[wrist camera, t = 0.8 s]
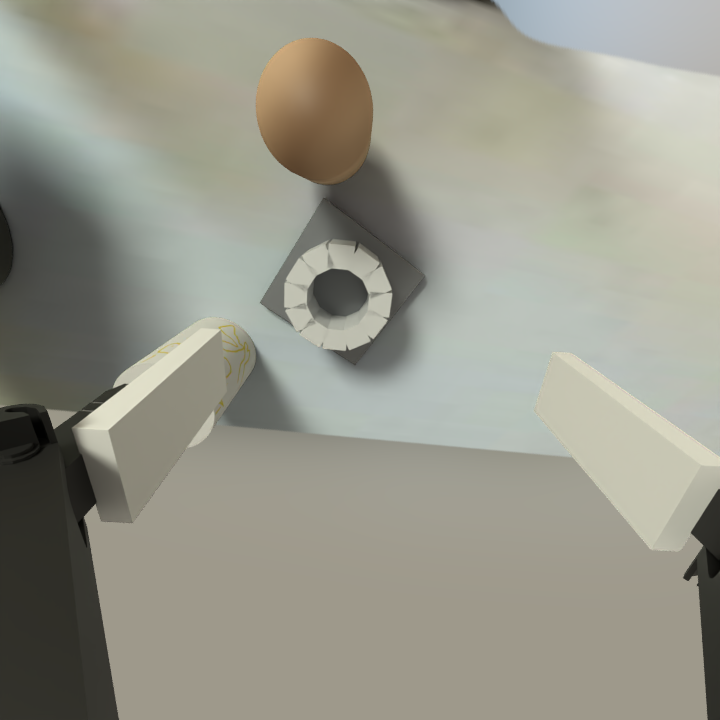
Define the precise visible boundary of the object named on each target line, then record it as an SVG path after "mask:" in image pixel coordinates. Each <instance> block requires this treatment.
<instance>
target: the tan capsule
mask: <svg viewBox="0 0 720 720" xmlns="http://www.w3.org/2000/svg"><path fill="white" fill-rule="evenodd" d="M256 114H257V121H258V125H259V129H260V132H261V135H262V137H263V140H264V142H265V144H266V146H267V147H268V149H269V151H270V152H271V153H272V155H273V156H274V157H275V158H276V159H277V161H278V162H279V163H281V164H282V165H283V166H284V167H285V168H287V169H288V170H290V171H291V172H293V173H295V174H297V175H299V176H301V177H303V178H306V179H308V180H310V181H312V182H314V183H317V184H322V185H333V184H338V183H341V182H343V181H346V180H347V179H349V178H350V177H352V176H353V175H354V174H355V173H356V172H357V171H358V170H359V169H360V167H361V166H362V164H363V163H364V161H365V159H366V156H367V154H368V151H369V147H370V140H371V131H372V121H373V103H372V96H371V91H370V88H369V85H368V82H367V80H366V77H365V75H364V73H363V71H362V70H361V68H360V66H359V65H358V63H357V62H356V61H355V59H354V58H353V57H352V56H351V55H350V54H349V53H348V52H347V51H345V50H344V49H343V48H341V47H340V46H338V45H336V44H334V43H332V42H330V41H327V40H324V39H319V38H305V39H300V40H296V41H293V42H291V43H289V44H287V45H285V46H284V47H283V48H281V49H280V50H279V51H278V52H277V53H276V54H275V55H274V56H273V57H272V58H271V59H270V61H269V62H268V64H267V65H266V67H265V69H264V71H263V73H262V75H261V78H260V81H259V85H258V89H257V95H256Z"/></svg>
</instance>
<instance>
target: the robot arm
mask: <svg viewBox="0 0 720 720" xmlns="http://www.w3.org/2000/svg"><path fill="white" fill-rule="evenodd" d="M11 263H12V242H11V236H10V232H9V229H8V226H7V223H6V220H5V218H4V216H3V213H2V211H1V209H0V285H1V284H2V283H3V282H4V281H5V279H6V277H7V275H8V273H9V271H10V267H11ZM226 392H227V387H226V376H225V366H224V355H223V344H222V334H221V329H207V328H201V329H199V330H198V331H197V332H195V333H194V334H193V335H192V336H190V337H189V338H188V339H186V340H185V341H184V342H183V343H181V344H180V345H179V346H177V347H176V348H175V349H173V350H172V351H171V352H170V353H168V354H167V355H166V356H164V357H163V358H162V359H161V360H159V361H158V362H157V363H155V364H154V365H153V366H151V367H150V368H149V369H148V370H146V371H145V372H144V373H142V374H141V375H140V376H139V377H137V378H136V379H135V380H133V381H132V382H131V383H129V384H122V385H120V386H118V387H115V388H113V389H111V390H108V391H106V392H105V393H103V394H102V395H101V396H99V397H98V398H96V399H95V400H94V401H93V403H90V404H88V405H87V406H86V407H84V408H83V409H82V411H79V412H77V413H76V414H75V415H73V416H72V417H71V418H69V419H68V420H67V421H65V422H64V423H62V424H61V425H60V426H58V427H57V428H55V429H53V427H52V423H51V420H50V417H49V415H48V412H47V410H46V409H45V407H44V406H40V405H37V404H19V405H12V406H6V407H2V408H0V720H119V718H118V712H117V706H116V701H115V694H114V688H113V682H112V676H111V669H110V663H109V658H108V651H107V645H106V639H105V633H104V627H103V621H102V615H101V609H100V603H99V598H98V591H97V585H96V579H95V573H94V567H93V561H92V554H91V548H90V542H89V536H88V530H87V526H86V523H85V520H84V516H85V515H86V514H87V512H88V511H89V510H90V509H91V508H92V507H93V506H94V505H95V504H96V506H97V510H98V513H99V516H100V519H101V521H104V522H123V523H133V522H134V521H135V519H136V518H137V516H138V515H139V513H140V512H141V511H142V510H143V508H144V507H145V505H146V504H147V502H148V501H149V500H150V498H151V497H152V496H153V494H154V493H155V491H156V490H157V489H158V487H159V486H160V484H161V483H162V481H163V480H164V479H165V477H166V476H167V474H168V473H169V472H170V470H171V469H172V468H173V466H174V465H175V463H176V462H177V461H178V459H179V458H180V456H181V455H182V454H183V452H184V451H185V449H186V448H187V447H188V445H189V444H190V442H191V441H192V440H193V438H194V437H195V435H196V434H197V433H198V431H199V430H200V429H201V427H202V426H203V424H204V423H205V422H206V420H207V419H208V417H209V416H210V415H211V413H212V412H213V410H214V409H215V408H216V406H217V405H218V403H219V402H220V401H221V399H222V398H223V396H224V395H225V394H226ZM534 412H535V413H536V414H537V415H538V416H539V418H540V419H541V420H542V421H543V422H544V423H545V425H546V426H547V427H548V428H549V429H550V431H551V432H552V433H553V434H554V435H555V437H556V438H557V439H558V440H559V441H560V442H561V444H562V445H563V446H564V447H565V448H566V450H567V451H568V452H569V453H570V454H571V456H572V457H573V458H574V459H575V460H576V461H577V463H578V464H579V465H580V466H581V467H582V469H583V470H584V471H585V472H586V473H587V474H588V476H589V477H590V478H591V479H592V480H593V482H594V483H595V484H596V485H597V486H598V488H599V489H600V490H601V491H602V492H603V493H604V495H605V496H606V497H607V498H608V499H609V500H610V502H611V503H612V504H613V505H614V506H615V508H616V509H617V510H618V511H619V512H620V514H621V515H622V516H623V517H624V518H625V519H626V521H627V522H628V523H629V524H630V525H631V527H632V528H633V529H634V530H635V531H636V532H637V534H638V535H639V536H640V537H641V538H642V540H643V541H644V542H645V543H646V544H647V546H648V547H649V548H650V549H651V550H663V551H681V549H682V548H683V546H684V545H685V543H686V541H687V540H688V538H689V537H690V535H691V534H693V535H694V536H695V537H696V538H697V539H698V540H699V541H700V542H701V543H702V544H703V545H704V546H703V547H702V549H701V550H700V552H699V553H698V555H697V556H696V558H695V559H694V561H693V562H692V564H691V565H690V566H689V568H688V569H687V571H686V573H685V574H684V577H683V578H684V579H685V580H687V581H689V580H690V578H691V577H692V576H696V575H698V584H697V586H699V599H700V613H701V628H702V642H703V657H704V672H705V685H706V701H707V715H708V720H720V457H719V456H717V455H716V454H715V453H713V452H712V451H710V450H709V449H707V448H706V447H705V446H703V445H702V444H700V443H699V442H697V441H696V440H695V439H693V438H692V437H690V436H689V435H687V434H686V433H685V432H683V431H682V430H680V429H679V428H677V427H676V426H675V425H673V424H672V423H670V422H669V421H668V420H666V419H665V418H663V417H662V416H660V415H659V414H658V413H656V412H655V411H653V410H652V409H650V408H649V407H648V406H646V405H645V404H643V403H642V402H640V401H639V400H638V399H636V398H635V397H633V396H632V395H630V394H629V393H628V392H626V391H625V390H623V389H622V388H620V387H619V386H618V385H616V384H615V383H613V382H612V381H610V380H609V379H608V378H606V377H605V376H603V375H602V374H600V373H599V372H598V371H596V370H595V369H593V368H592V367H590V366H589V365H588V364H586V363H585V362H583V361H582V360H580V359H579V358H578V357H576V356H575V355H573V354H572V353H561V352H552V356H551V359H550V362H549V365H548V368H547V371H546V374H545V377H544V380H543V384H542V387H541V390H540V393H539V396H538V399H537V402H536V405H535V409H534Z"/></svg>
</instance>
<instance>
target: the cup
mask: <svg viewBox="0 0 720 720" xmlns="http://www.w3.org/2000/svg"><path fill="white" fill-rule="evenodd" d="M201 328H207V329H221V334H222V344H223V355H224V366H225V376H226V387H227V392H226V394H225V395H224V396H223V398H222V399H221V401H220V402H219V403H218V405H217V406H216V408H215V409H214V410H213V412H212V413H211V415H210V416H209V417H208V419H207V420H206V422H205V423H204V424H203V426H202V427H201V429H200V430H199V431H198V433H197V434H196V435H195V437H194V438H193V440H192V441H191V442H190V444H189V445H188V447H187V448H190V447H193V446H195V445H197V444H199V443H201V442H202V441H203V440H204V439H205V438H206V437H207V436H208V435H209V433H210V432H211V430H212V429H213V428H214V426H215V425H216V423H217V422H218V420H219V419H220V417H221V416H222V414H223V413H224V411H225V410H226V408H227V407H228V406H229V404H230V403H231V401H232V400H233V398H234V397H235V395H236V394H237V392H238V391H239V389H240V388H241V386H242V385H243V383H244V382H245V381H246V379H247V378H248V376H249V375H250V373H251V372H252V370H253V368H254V366H255V362H256V350H255V346H254V344H253V342H252V340H251V338H250V336H249V335H248V334H247V333H246V331H245V330H244V329H242V328H241V327H240V326H239V325H237V324H235V323H234V322H232V321H229V320H227V319H223V318H217V317H210V318H204V319H201V320H199V321H197V322H195V323H194V324H192V325H191V326H189V327H188V328H187V329H185V330H184V331H182V332H181V333H179V334H178V335H176V336H175V337H173V338H172V339H171V340H169V341H168V342H166V343H165V344H163V345H162V346H160V347H159V348H157V349H156V350H155V351H153V352H152V353H150V354H149V355H147V356H146V357H144V358H143V359H141V360H140V361H139V362H137V363H136V364H134V365H133V366H131V367H130V368H128V369H127V370H125V371H124V372H123V373H122V374H121V375H120V376H119V377H118V378H117V380H116V381H115V383H114V386H113V388H115V387H118V386H120V385H122V384H129V383H131V382H132V381H133V380H135V379H136V378H137V377H139V376H140V375H141V374H142V373H144V372H145V371H146V370H148V369H149V368H150V367H151V366H153V365H154V364H155V363H157V362H158V361H159V360H161V359H162V358H163V357H164V356H166V355H167V354H168V353H170V352H171V351H172V350H173V349H175V348H176V347H177V346H179V345H180V344H181V343H183V342H184V341H185V340H186V339H188V338H189V337H190V336H192V335H193V334H194V333H195V332H197V331H198V330H199V329H201Z"/></svg>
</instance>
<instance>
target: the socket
mask: <svg viewBox="0 0 720 720" xmlns="http://www.w3.org/2000/svg"><path fill="white" fill-rule="evenodd" d="M424 276H425V275H424V274H423V273H422V272H420V271H419V270H418V269H416V268H415V267H414V266H412V265H411V264H410V263H408V262H407V261H406V260H405V259H403V258H402V257H401V256H399V255H398V254H397V253H395V252H394V251H393V250H391V249H390V248H389V247H388V246H386V245H385V244H384V243H382V242H381V241H380V240H378V239H377V238H376V237H375V236H373V235H372V234H371V233H369V232H368V231H367V230H365V229H364V228H363V227H361V226H360V225H359V224H358V223H356V222H355V221H354V220H352V219H351V218H350V217H348V216H347V215H346V214H344V213H343V212H342V211H341V210H339V209H338V208H337V207H335V206H334V205H333V204H331V203H330V202H329V201H328V200H326V199H325V198H323V200H322V201H321V203H320V205H319V206H318V208H317V210H316V211H315V213H314V215H313V216H312V218H311V220H310V221H309V223H308V224H307V226H306V228H305V229H304V231H303V233H302V234H301V236H300V238H299V239H298V241H297V242H296V244H295V246H294V247H293V249H292V251H291V252H290V254H289V256H288V257H287V259H286V261H285V262H284V264H283V265H282V267H281V269H280V270H279V272H278V274H277V275H276V277H275V279H274V280H273V282H272V283H271V285H270V287H269V288H268V290H267V292H266V293H265V295H264V297H263V298H262V300H261V302H260V303H261V304H262V305H264V306H265V307H267V308H268V309H270V310H271V311H273V312H274V313H276V314H277V315H279V316H281V317H282V318H284V319H285V320H287V321H288V322H290V323H291V324H293V326H294V328H295V329H296V331H297V332H298V331H300V330H301V332H300V334H299V335H301V336H302V337H304V338H305V339H307V340H308V341H310V342H312V343H313V344H315V345H316V346H318V347H320V346H321V344H323V349H331V350H333V351H334V352H336V353H337V354H339V355H340V356H342V357H343V358H345V359H347V360H348V361H350V362H351V363H353V364H354V365H356V363H357V362H358V361H359V359H360V358H361V357H362V356H363V354H364V353H365V352H366V350H367V349H368V348H369V347H370V345H371V344H372V343H373V342H374V340H375V339H376V338H377V336H378V335H379V334H380V333H381V331H382V330H383V329H384V327H385V326H386V325H387V324H388V322H389V321H390V320H391V319H392V317H393V316H394V315H395V313H396V312H397V311H398V310H399V308H400V307H401V306H402V304H403V303H404V302H405V301H406V299H407V298H408V297H409V295H410V294H411V293H412V292H413V290H414V289H415V288H416V287H417V285H418V284H419V283H420V281H421V280H422V279H423V278H424Z"/></svg>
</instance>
